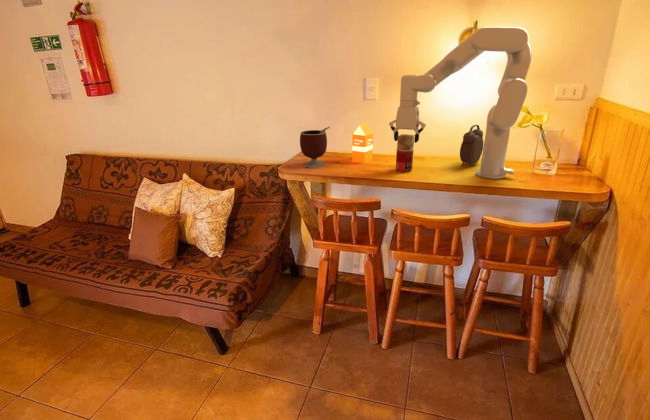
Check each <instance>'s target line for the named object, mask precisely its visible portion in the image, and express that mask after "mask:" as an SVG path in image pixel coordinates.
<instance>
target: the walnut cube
mask: <svg viewBox="0 0 650 420" xmlns="http://www.w3.org/2000/svg"><path fill="white" fill-rule="evenodd" d="M414 139H415V134H403V133H401V134H398V140H397V141H396V143H397V144H396V150H397V149H403V150H410V149H412V148H413V149H414V145H415V144H414V143H415V142H414Z"/></svg>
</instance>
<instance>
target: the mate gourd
mask: <svg viewBox="0 0 650 420" xmlns="http://www.w3.org/2000/svg"><path fill="white" fill-rule="evenodd" d="M328 129H330V126H328V127H325V128H323V129H321V130H320V129H310V130H303V131H301V132H300V136H299V147H300V150H301V151H300V152H301V153H302V154H303V156H305V157H307V158H309V159H311V160H310V161H309V160H308V161H305V162H303V163H302V167H303V166H304V167H303V168H306V167H309V168H308V169H318V168H317V167H321V168H323V166H324V167H325V165H326V166H327V162H325V161H322V160H318V158H320V157H323V156H324V154H325V153H326V152H327V148H328V138H327V132H326V130H328Z"/></svg>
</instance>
